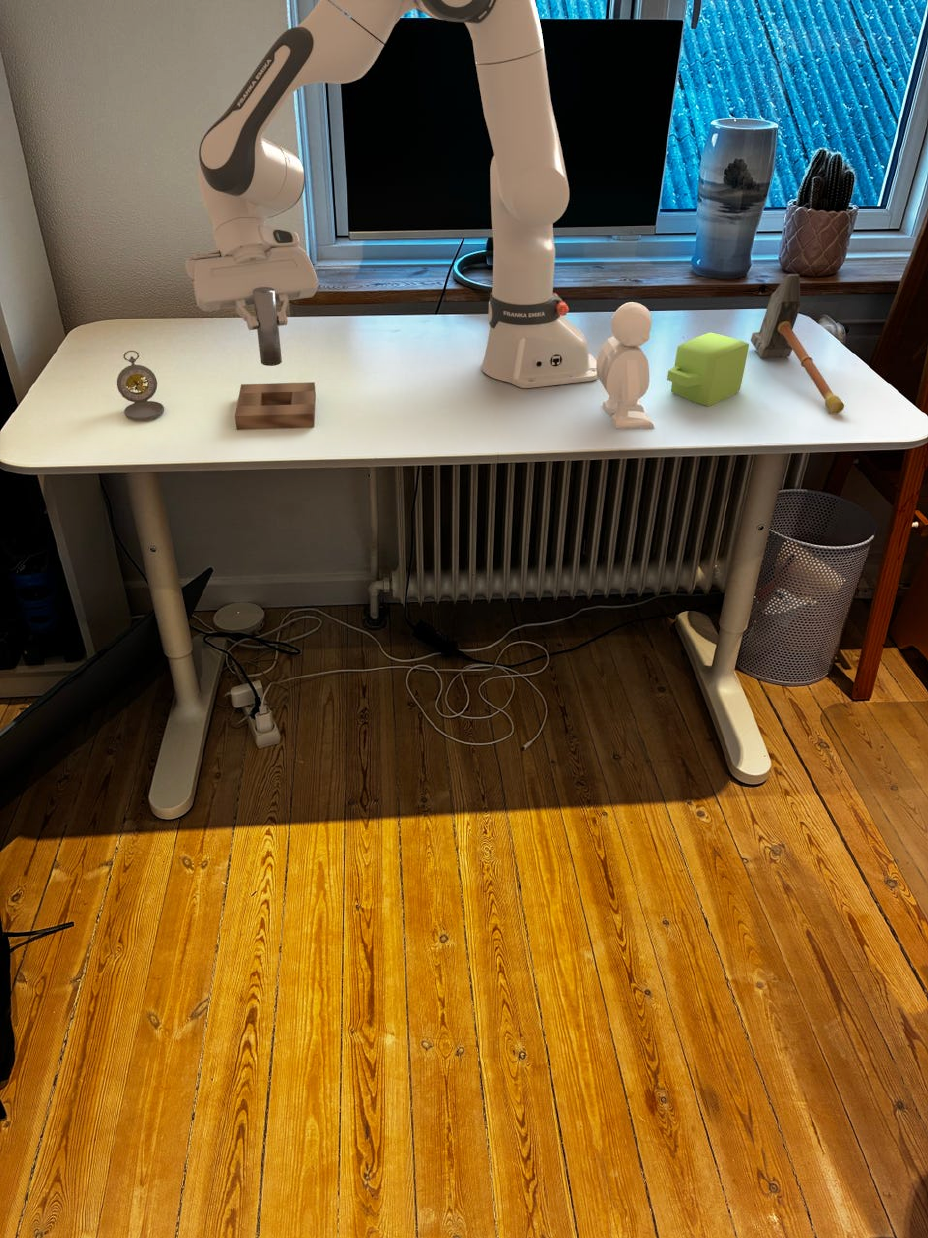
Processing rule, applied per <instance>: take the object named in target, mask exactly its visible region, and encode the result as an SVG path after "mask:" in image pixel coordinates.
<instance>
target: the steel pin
mask: <svg viewBox="0 0 928 1238" xmlns="http://www.w3.org/2000/svg"><path fill="white" fill-rule="evenodd" d="M253 297H254V305H253V306H254V315H256V317H257V321H258V323H259V327H258V329H256V330H257V340H258V346H259V347H258V351H259V358H260V364H262V365H263V366H266V367H273V366H278V365H281V364H282V363H283V360H282V359H283V358H282V348H281V339H280V329H279V327H280V326H278V317H277V312H278V310H277V307H278V306H277V302H276V297H275V289H273V288H270V287H259V288H256V289H254V290H253Z"/></svg>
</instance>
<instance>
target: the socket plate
mask: <svg viewBox="0 0 928 1238" xmlns="http://www.w3.org/2000/svg"><path fill="white" fill-rule="evenodd" d="M316 393H317V392H316V383H315V382H314V381H313V382H312V381H311V382H279V383H278V382H277V383H275V382H274V383H272V382H271V383H243V384H242V383H241V384H240V388H239V393H238V396H237V397H238V398H237V403H236V408H235V413H234V421H235V425H236V428H235V429H236V430H237V431H238V430H239V431H240V430H267V429H270V430H271V429H273V430H275V429H298V428H299V429H303V428H304V429H305V428H315V423H316V422H315V419H316V399H317V397H316V396H317V395H316Z"/></svg>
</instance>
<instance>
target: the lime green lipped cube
mask: <svg viewBox="0 0 928 1238" xmlns="http://www.w3.org/2000/svg"><path fill="white" fill-rule="evenodd" d="M749 346H750V343H748V342H746V341H743V340H740V339H737V338H733V337H730V336H726V335H723V334H719V333H714V332H707V333H704V334H702V335H699V336H696V337H694V338H692V339H690V340H688V341H686V342H683V343H681V344H679V345H677V349H676V354H675V361H674V366H673V367H672V368H670V369H669V370H667V374H666V375H667V376H666V381H669V382H671V386H670V387H671V389H670V392H671V393H673V394H675V395H677V396H679V397H682V398H684V399H686V400H689V401H691V402H693V403H695V404H699V405H701V406H704V407H705V406H706V407H711V406H712V405H715V404H717V403H719V402H721V401H723V400H725V399H727V398H729V397H731V396H733V395H734V394H736V393H738V392H739V391H741V388H742V382H743V377H744V373H745V367H746V363H747V359H748V353H749Z"/></svg>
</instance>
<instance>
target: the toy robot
mask: <svg viewBox="0 0 928 1238" xmlns="http://www.w3.org/2000/svg"><path fill="white" fill-rule="evenodd" d="M652 321H653V320H652V314H651V313H650V310H649V309H648V308H647V307H646V306H645V305H642V304H641V303H638V302H633V301H631V302H630V301H629V302H626V303H624V304H622V305H621V306H619V307H618V308H617V309H616V311H615V312H614V313H613V315H612V317H611V321H610V322H611V323H610V324H611V325H610V326H611V327H610V328H611V334H612V336H610V337H609V338H607V339H606V340H605V342H604V343H603V345H601V348H600V351H598V354H597V355H598V356H597V359H596V361H597V365H596V370H597V375H598V379H599V381H600V383H601V384H602V386H603V387H604V389H605V391H606V393H607V395H608V399H607V400H604V401H603V402H602V407H603V408H604V410H605V412H606V413H607V414H613V415H612V416H611V422H612V423H613V426H614V428H615V429H616V430H617V429H618V430H619V429H620V430H621V429H622V430H624V429H625V430H626V429H655V425H654V422H653V420H652V419H651V418H650V416H649V414H648V413H646V412H645V410H644V407H643V405H642V403H641V402H640V401H639V400H640V399H641V398H642V397H643V396H645V395H646V393H647V391H648V389H649V386H650V365H649V362H648V358H647V356H646V355H645V353H644V351H643V350H642V349H641V348H640V347H641V346H643V345H644V344H646V343H647V342H648V341H649V340H650V338H651V333H650V332H651V330H652V323H653V322H652Z"/></svg>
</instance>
